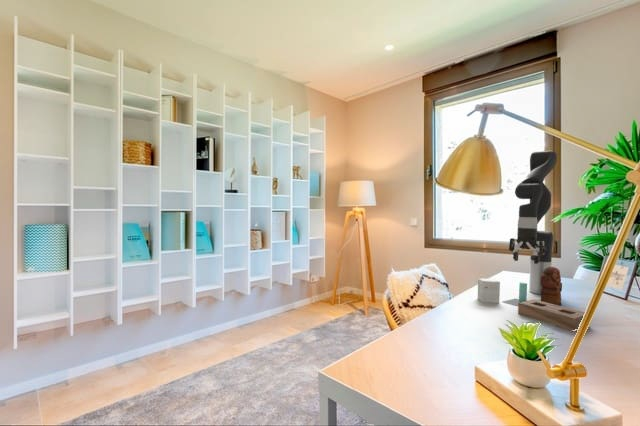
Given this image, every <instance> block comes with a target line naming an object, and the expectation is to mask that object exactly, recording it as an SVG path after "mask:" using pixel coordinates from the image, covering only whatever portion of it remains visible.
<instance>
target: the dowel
mask: <svg viewBox="0 0 640 426" xmlns="http://www.w3.org/2000/svg"><path fill="white" fill-rule="evenodd" d="M518 286H519V289H518V291H519V293H518V299H519V303H520V302H524V301H528V300H527V298H528V283H526V282H522V281H521V282H519V285H518Z"/></svg>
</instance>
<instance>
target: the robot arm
mask: <svg viewBox="0 0 640 426" xmlns="http://www.w3.org/2000/svg"><path fill="white" fill-rule="evenodd" d="M557 155H558V154H557V152H556V151H555V150H540V151H533V152H531V153H530V156H529V169H530V171H529V173H528V174H527V176H526V177H525V179H523V180H522V181H521V182H519V183H518V184H517V186H516V187H515V189H514V194H515V196H516V197H517V198H518V199H520V200H529V203H524V204H520V205H519V208H518V220H517V231H516V232H517V234H516V235H517V237H516V238H513V237H512V238H510V239H509V245H508V250H509V251H510V252H512V255H513V256H512V258H513V260H514V261H515V262H517V261H519V252H520V250H524V249H525V250H530V251H531V252H532V254H530V261H529V262H530V263H529V290H528V292H530V293H534V294H538V295H541V289H542V286H541V284H540V283H541V276H542V274H544V273H543V271H544V270H545V268H547V267H552V255H553V254H552V253H553V252H552V251H553V245H554V233H553V232H552V231H549V230H538V224H539V222H540V221H541V220H542V219H543V217H545V215H546V214H547V213H548V212H549V211H550V209H551V208H552V207H551V206H552V193H551V191H550V190H549V189H550V188H548V187H547V186H546V184H545V183H544V180H545V179H546V177H547V176H548V175H549V173H550V174H551V172H552V171H553V169H555V167H556V165H557V162H558V156H557ZM515 244H517V245H515Z"/></svg>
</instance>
